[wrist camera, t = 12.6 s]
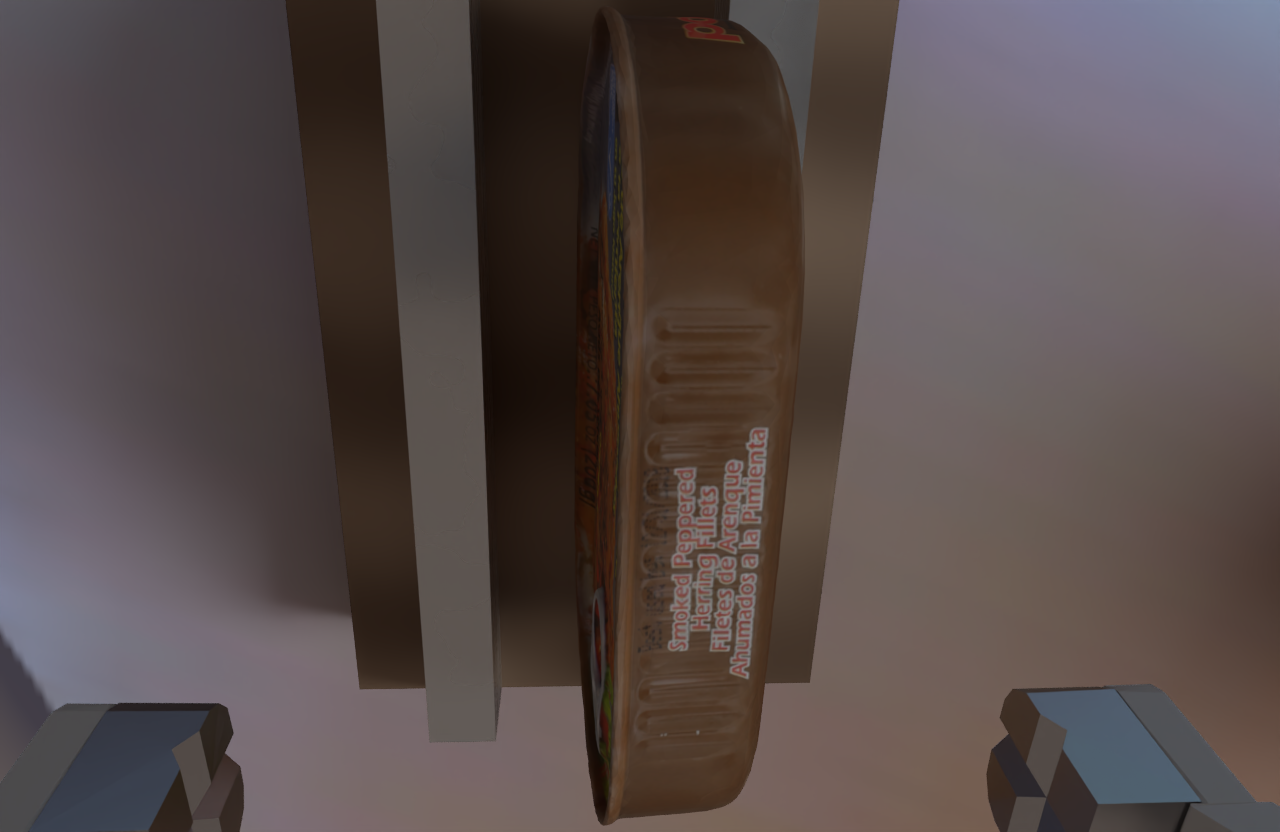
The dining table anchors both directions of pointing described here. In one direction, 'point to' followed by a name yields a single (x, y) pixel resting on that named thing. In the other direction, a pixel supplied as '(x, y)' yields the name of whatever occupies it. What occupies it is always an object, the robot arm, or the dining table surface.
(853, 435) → the dining table surface
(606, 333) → the tin
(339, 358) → the dock
